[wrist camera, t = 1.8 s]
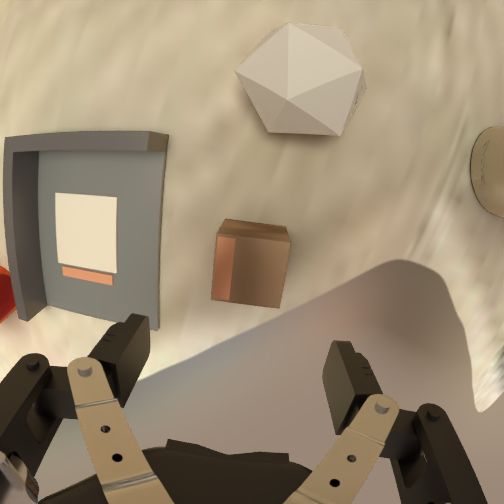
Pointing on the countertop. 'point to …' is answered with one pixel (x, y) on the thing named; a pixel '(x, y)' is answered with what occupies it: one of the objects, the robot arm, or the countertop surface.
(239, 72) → the die
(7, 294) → the coffee cup
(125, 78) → the countertop surface
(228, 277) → the walnut block
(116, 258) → the board
